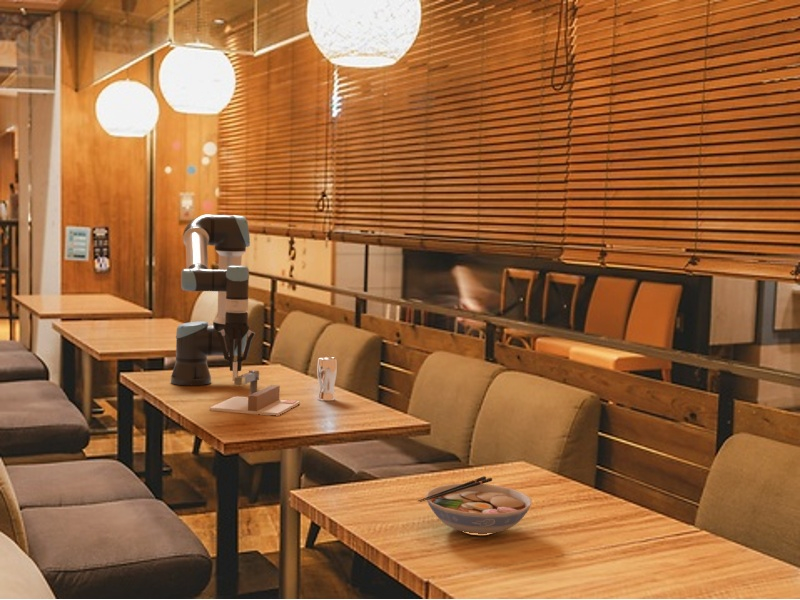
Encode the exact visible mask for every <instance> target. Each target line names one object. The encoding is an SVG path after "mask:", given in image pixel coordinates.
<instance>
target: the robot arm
mask: <svg viewBox="0 0 800 600" xmlns="http://www.w3.org/2000/svg"><path fill="white" fill-rule="evenodd" d="M250 240H251V239H250V230H249V223H248V220H247V218H246V217H245V216H243V215H235V214H233V215H231V214H229V215H228V214H222V215H221V214H202V215H199V216H197V217H195V218H193V219H192V220H191V221H190V222H189V223H188V224H187V225H186V226H185V228H184V230H183V234H182V241H183V244H184V246H185V258H186V259H185V261H186V263H185V264H186V268H183V269H182V270H181V272H180V273H181V274H180V285H181V286H180V287H181V289H182V291H186V292H217V315H216V318H215V319H213V322H212V323H213V324H211V325H209V324H208V322H207V321H205V320H203V321H192V322H191V321H190V322H183V323H181V324H179V325H177V327H176V334H175V335H176V336H175V338H176V344H175V345H176V346H175V347H176V348H175V364H174V367H173V371H172V372H171V376H170V384H173V385H176V386H177V385H179V386H204V385H209V384H211V383H212V376H211V372H210V369H209V365H208V356H223V359H224V360H226V361H228V362H229V371H230V372H232V380H231V381H232V382H234V378H235V377H237V376H239V372H242V362H243V361H246V360H248V357H249V354H250V353H249V352H250V349H251V345H252V341H253V339H254V337H255V335H256V332H255V331H253V330H250V327H249V324H248V322H249V319H248V318H249V313H248V312H247V311H249V284H250V283H249V282H250V281H249V280H250V279H249V278H250V273H249V272H250V270H249V267H248V266H245V265H242V256H243V255H244V253H246V249H247V248H248V247H250V246H251V241H250ZM208 246H214V251H215V252H216V253H217V254H218V269H209V260H208V259H209V257H208ZM246 247H247V248H246ZM235 356H236V360H235Z"/></svg>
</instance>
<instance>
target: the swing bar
mask: <svg viewBox="0 0 800 600" xmlns="http://www.w3.org/2000/svg"><path fill="white" fill-rule="evenodd" d="M254 380H257V381H259V380H260V371H259V370H256V369H255V370H253V369H252V370H248V372H247V373H244V374H241V375H238V376H237V377H235V378H234V381H233V384H234V385H233V386H236V387H243V386H245V385H247V384H250V382H252V381H254Z"/></svg>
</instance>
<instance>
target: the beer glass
mask: <svg viewBox="0 0 800 600" xmlns="http://www.w3.org/2000/svg"><path fill="white" fill-rule="evenodd" d="M337 366H338V365H337V358H336V357H332V356H320V357H318V358H317V367H316V370H317V371H316V372H317V373H316V374H317V381H318V383H317V384H318V389H319V390H318V395H317V400H318V401H322V402H331V401H332V402H333V401H335V400H336V399H335V394H334V393H335V391H334V390H335V383H336V379H337V373H338V371H337V370H338V369H337V368H338V367H337Z"/></svg>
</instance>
